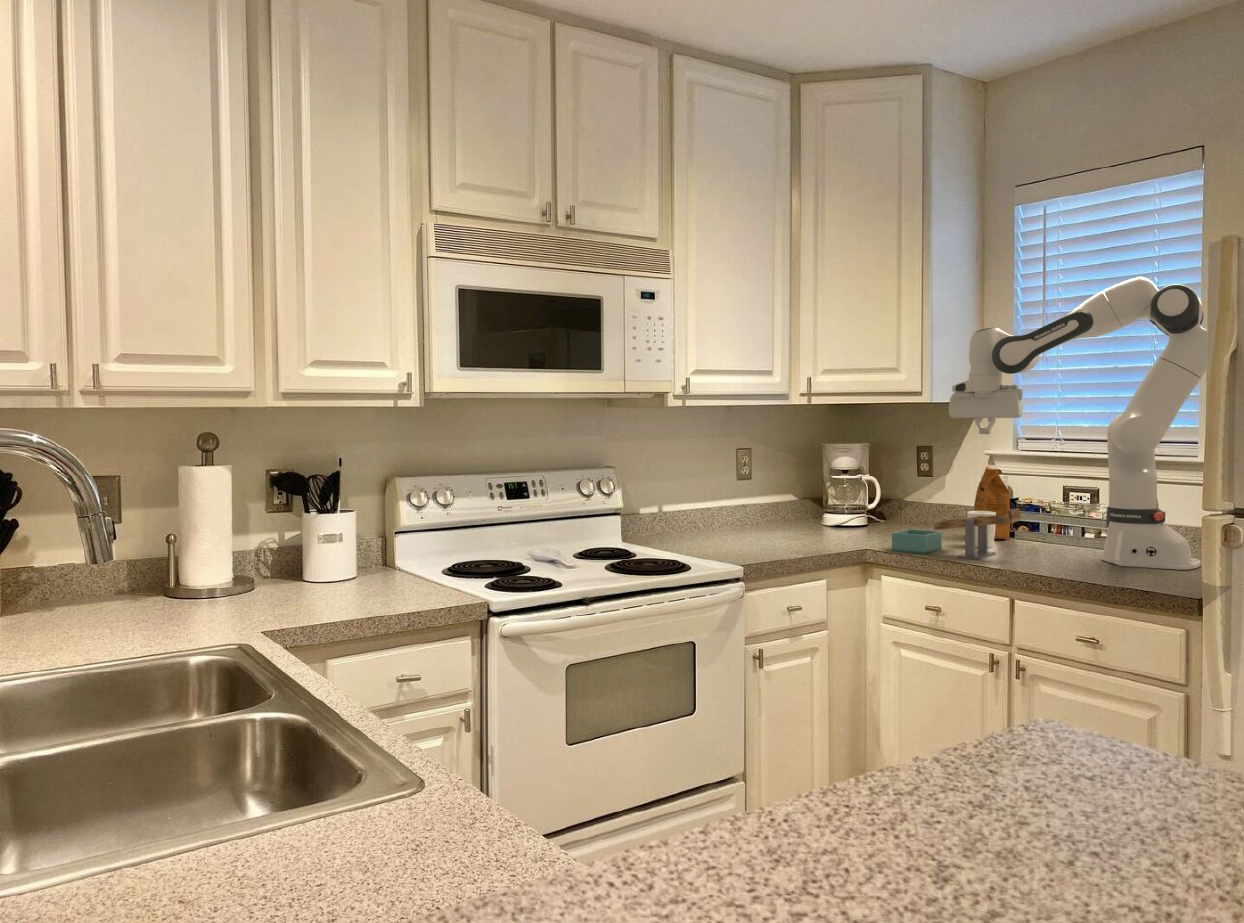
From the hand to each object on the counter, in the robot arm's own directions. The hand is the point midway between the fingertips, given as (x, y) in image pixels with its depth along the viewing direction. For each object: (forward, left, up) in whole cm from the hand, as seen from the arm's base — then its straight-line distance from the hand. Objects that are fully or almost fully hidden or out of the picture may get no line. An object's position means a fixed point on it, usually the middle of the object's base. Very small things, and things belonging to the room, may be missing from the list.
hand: (985, 434), depth 271 cm
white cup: (+3, -5, -33) cm, 34 cm away
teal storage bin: (+14, +13, -33) cm, 38 cm away
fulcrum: (-3, +13, -33) cm, 36 cm away
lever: (-3, +10, -25) cm, 27 cm away
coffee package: (+7, -22, -33) cm, 41 cm away
